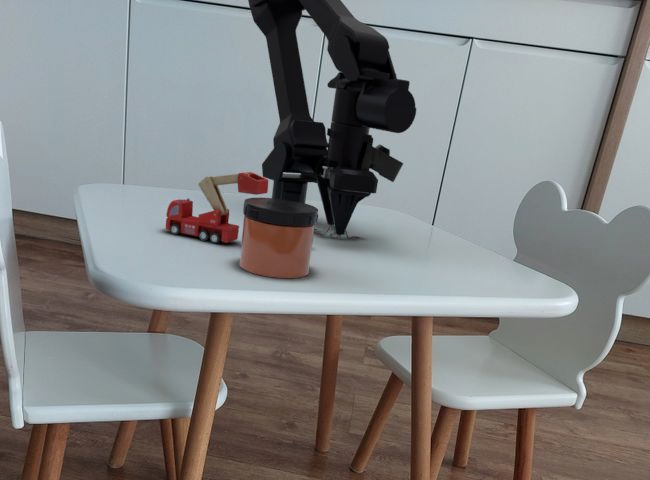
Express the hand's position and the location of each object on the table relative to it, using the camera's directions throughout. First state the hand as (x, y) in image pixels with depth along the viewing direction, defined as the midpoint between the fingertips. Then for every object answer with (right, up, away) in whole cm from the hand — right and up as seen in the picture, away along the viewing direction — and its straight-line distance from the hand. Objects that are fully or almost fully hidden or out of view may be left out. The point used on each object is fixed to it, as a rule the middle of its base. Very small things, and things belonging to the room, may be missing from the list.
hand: (335, 229), depth 106 cm
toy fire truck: (-17, -4, -13) cm, 22 cm away
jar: (-8, -9, -23) cm, 26 cm away
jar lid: (-7, -2, -26) cm, 27 cm away
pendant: (0, -1, 0) cm, 1 cm away
